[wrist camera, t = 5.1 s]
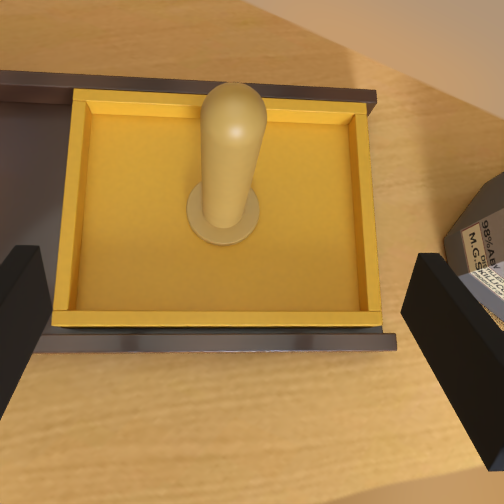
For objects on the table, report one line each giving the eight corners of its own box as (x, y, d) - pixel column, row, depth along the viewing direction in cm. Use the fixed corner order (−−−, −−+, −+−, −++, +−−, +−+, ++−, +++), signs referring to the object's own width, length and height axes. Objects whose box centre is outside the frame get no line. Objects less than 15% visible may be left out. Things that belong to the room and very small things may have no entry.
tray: (64, 328, 26) (-73, 298, 13) (83, 108, 29) (-11, -86, 16) (368, 328, 27) (507, 301, 15) (354, 121, 31) (458, -45, 18)
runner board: (-129, 355, 26) (-175, 354, 23) (-81, 94, 30) (-114, 63, 27) (377, 351, 29) (397, 350, 26) (360, 115, 33) (376, 89, 30)
